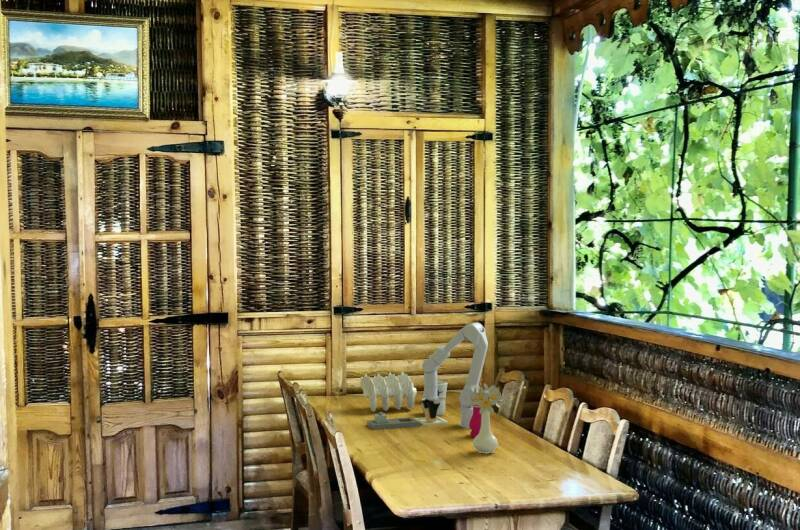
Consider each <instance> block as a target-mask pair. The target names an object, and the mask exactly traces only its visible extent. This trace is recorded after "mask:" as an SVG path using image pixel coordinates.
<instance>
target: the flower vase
mask: <svg viewBox="0 0 800 530" xmlns="http://www.w3.org/2000/svg"><path fill="white" fill-rule="evenodd" d="M479 387H480V386H479ZM478 391H479V392H478ZM478 393H479V394H478ZM469 398H472V399H471V400H470V401H469V402H471V401H472V400H473V401H472V403H471V405H475V404H476V405H478V406H481V408H480V414H482V417H481V429H480V432H479V434H478V435H477V436H476V437H473V441H472V445H473V447H474V448H475V450H476V452H477V453H478V454H481V453H483V455H490V454H489V453H491V454H493V453H494V452H495V450H496V448H498V446H499V441H498V439H497V437H496V436H495V435H494V434H493V432H492V429H491V423H490V414H494V413H495V410H494V408H493V407H492V406H494V405H495V406H496V407H497V408H498V409H499V408H501V406H504V405H503V402H502V401H504V400H505V398H504V396H502V394H501V392H500V387H496V386H495V384H493V385H490V387H489V386H488V384H487V383H485V382H483V387H482V386H481V387H480V389H479V390H478V386H477V388H476V386H475V387H474V392H471V395H470V397H469ZM484 453H485V454H484Z"/></svg>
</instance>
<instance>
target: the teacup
mask: <svg viewBox="0 0 800 530" xmlns="http://www.w3.org/2000/svg"><path fill="white" fill-rule="evenodd" d="M438 399H439V403H440V405H439V407H438V410H437V417H440V416H441V417H442V415H443V414H444V413H446V397H445V398H444V397H438ZM422 400H425V399H422V398H421V401H422ZM421 406H422V408H421V409H422V412H423V414H424V415H425V407H424V405H423V403H422V402H421Z"/></svg>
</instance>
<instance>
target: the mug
mask: <svg viewBox="0 0 800 530" xmlns="http://www.w3.org/2000/svg"><path fill="white" fill-rule="evenodd" d="M448 383H449V382H447V381H444V380H437V396H438V397H444V398H445V399H446V397H447V388H448Z"/></svg>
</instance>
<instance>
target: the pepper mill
mask: <svg viewBox="0 0 800 530" xmlns="http://www.w3.org/2000/svg"><path fill="white" fill-rule="evenodd" d="M476 388H477V387H476ZM479 389H480V386H479V387H478V390H479ZM478 392H479V391H478ZM478 394H479V393H478ZM471 399H472V398H471ZM472 401H473V400H472ZM472 406H473V415H472V417H471V420H470V422H469V427H470V432H469V433H470V435H469V436H470V437H471V438H475V437H476V436H477V435H478V434H479V432H480V429H481V417H482V414H480V408H481V406H478V405H476V404H475V405H472Z"/></svg>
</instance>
